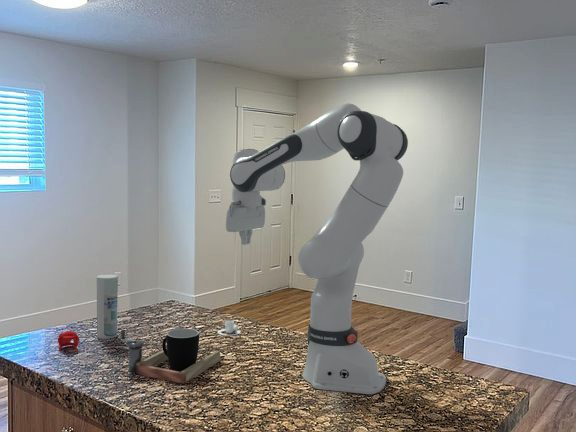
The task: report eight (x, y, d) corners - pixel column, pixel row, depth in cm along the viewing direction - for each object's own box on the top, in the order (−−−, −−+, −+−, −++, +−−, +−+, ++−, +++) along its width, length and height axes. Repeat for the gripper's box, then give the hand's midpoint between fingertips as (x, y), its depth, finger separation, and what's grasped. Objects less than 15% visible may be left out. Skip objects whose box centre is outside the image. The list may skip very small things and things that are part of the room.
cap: (55, 346, 167) (55, 329, 166) (74, 343, 170) (74, 326, 169) (62, 353, 161) (61, 335, 160) (81, 350, 164) (81, 332, 164)
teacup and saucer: (231, 328, 193) (231, 317, 193) (247, 333, 188) (247, 321, 187) (212, 333, 186) (212, 321, 186) (228, 338, 181) (228, 326, 181)
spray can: (107, 332, 183) (107, 273, 181) (121, 335, 180) (122, 275, 178) (92, 337, 177) (92, 276, 175) (107, 340, 174) (107, 278, 172)
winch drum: (147, 368, 151) (147, 331, 150) (136, 373, 146) (137, 335, 145) (126, 364, 153) (127, 327, 152) (115, 369, 149) (116, 331, 148)
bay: (220, 360, 158) (220, 350, 158) (183, 383, 141) (184, 372, 140) (176, 353, 164) (176, 343, 163) (136, 374, 146) (136, 363, 146)
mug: (205, 367, 153) (205, 331, 152) (183, 376, 145) (183, 339, 144) (174, 358, 159) (174, 324, 158) (151, 367, 152) (151, 331, 151)
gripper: (239, 201, 161) (239, 248, 162) (268, 200, 180) (268, 241, 181) (220, 201, 164) (220, 247, 165) (251, 199, 183) (251, 240, 183)
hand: (245, 244), depth 173 cm, fingers closed
